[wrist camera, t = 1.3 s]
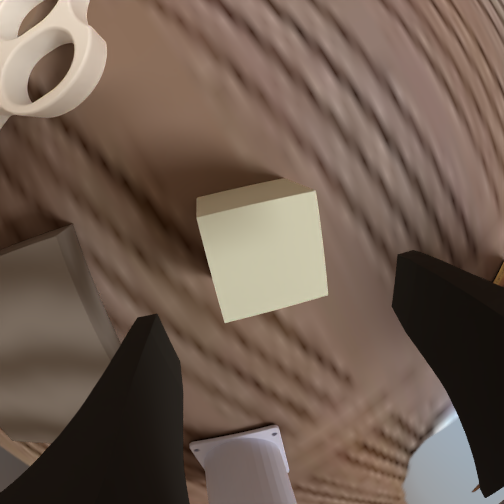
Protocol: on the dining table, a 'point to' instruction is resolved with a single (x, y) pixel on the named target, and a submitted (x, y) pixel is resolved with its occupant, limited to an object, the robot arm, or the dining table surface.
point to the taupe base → (49, 335)
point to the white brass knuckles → (38, 45)
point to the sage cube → (263, 247)
